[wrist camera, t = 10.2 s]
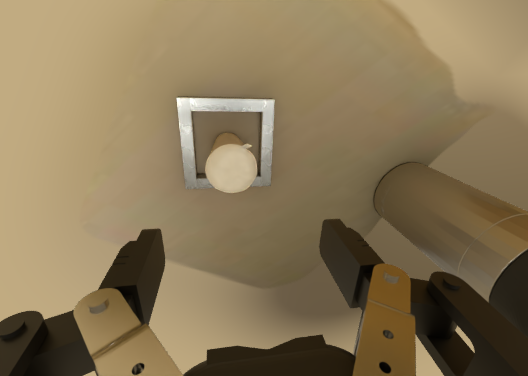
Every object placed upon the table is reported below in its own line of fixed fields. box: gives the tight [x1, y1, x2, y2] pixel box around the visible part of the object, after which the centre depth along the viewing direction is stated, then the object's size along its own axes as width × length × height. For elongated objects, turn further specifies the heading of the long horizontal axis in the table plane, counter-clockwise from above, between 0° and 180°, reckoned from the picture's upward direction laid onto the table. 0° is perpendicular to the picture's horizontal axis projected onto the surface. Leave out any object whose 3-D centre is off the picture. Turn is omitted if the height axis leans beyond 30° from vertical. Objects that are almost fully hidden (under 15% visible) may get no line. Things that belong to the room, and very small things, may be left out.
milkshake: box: [205, 132, 257, 193], centre depth 25 cm, size 4×5×10 cm
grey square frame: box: [177, 97, 275, 189], centre depth 29 cm, size 10×10×2 cm
